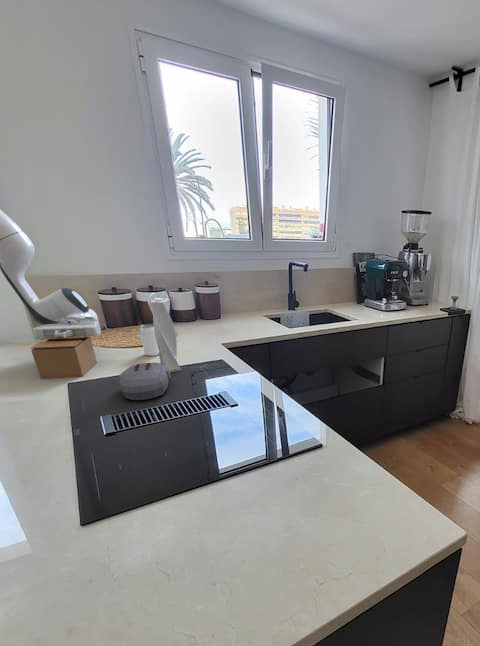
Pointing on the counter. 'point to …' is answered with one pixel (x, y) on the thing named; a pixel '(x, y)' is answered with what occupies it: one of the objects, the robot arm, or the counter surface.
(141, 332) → the can
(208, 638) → the counter surface
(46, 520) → the counter surface
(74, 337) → the flap
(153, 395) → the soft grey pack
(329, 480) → the counter surface
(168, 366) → the skyscraper
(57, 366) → the carton
